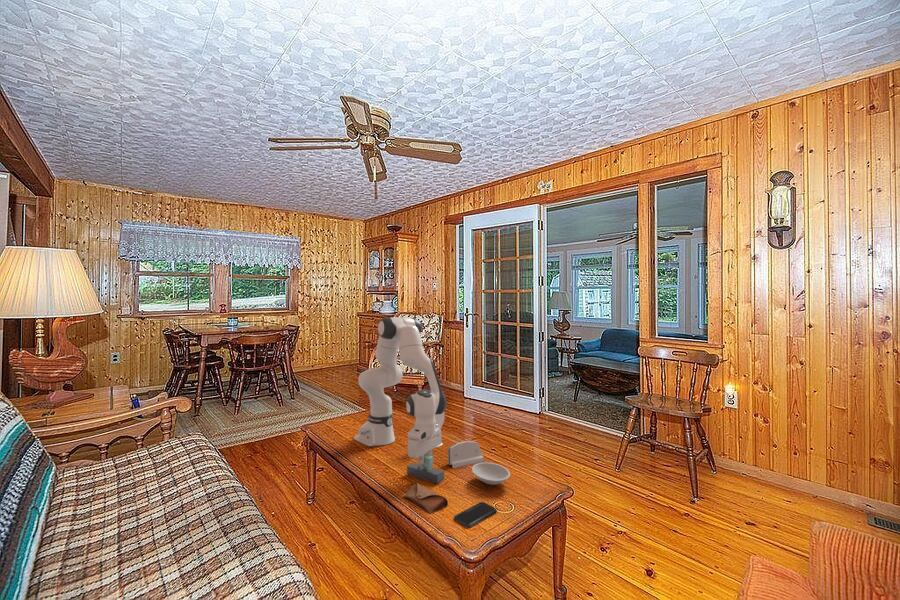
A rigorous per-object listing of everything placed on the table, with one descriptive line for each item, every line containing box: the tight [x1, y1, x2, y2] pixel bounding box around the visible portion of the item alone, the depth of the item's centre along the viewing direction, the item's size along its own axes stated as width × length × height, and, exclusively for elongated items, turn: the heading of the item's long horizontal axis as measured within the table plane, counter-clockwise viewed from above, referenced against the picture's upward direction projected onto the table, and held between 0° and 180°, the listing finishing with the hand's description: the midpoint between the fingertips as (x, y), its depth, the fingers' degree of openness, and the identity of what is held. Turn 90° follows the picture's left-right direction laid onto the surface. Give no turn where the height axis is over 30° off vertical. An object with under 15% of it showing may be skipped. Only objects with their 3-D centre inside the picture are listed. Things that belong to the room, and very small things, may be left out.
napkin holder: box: [447, 440, 485, 469], centre depth 184 cm, size 17×5×10 cm, turn 116°
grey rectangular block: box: [406, 461, 445, 485], centre depth 169 cm, size 16×5×4 cm, turn 58°
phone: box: [453, 501, 498, 529], centre depth 140 cm, size 8×1×15 cm
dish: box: [471, 461, 511, 486], centre depth 163 cm, size 18×14×5 cm
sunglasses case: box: [401, 481, 449, 514], centre depth 150 cm, size 18×7×7 cm, turn 46°
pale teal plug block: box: [417, 453, 434, 472], centre depth 169 cm, size 6×3×6 cm, turn 58°
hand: (425, 461), depth 169 cm, fingers closed on pale teal plug block, 3 cm apart
